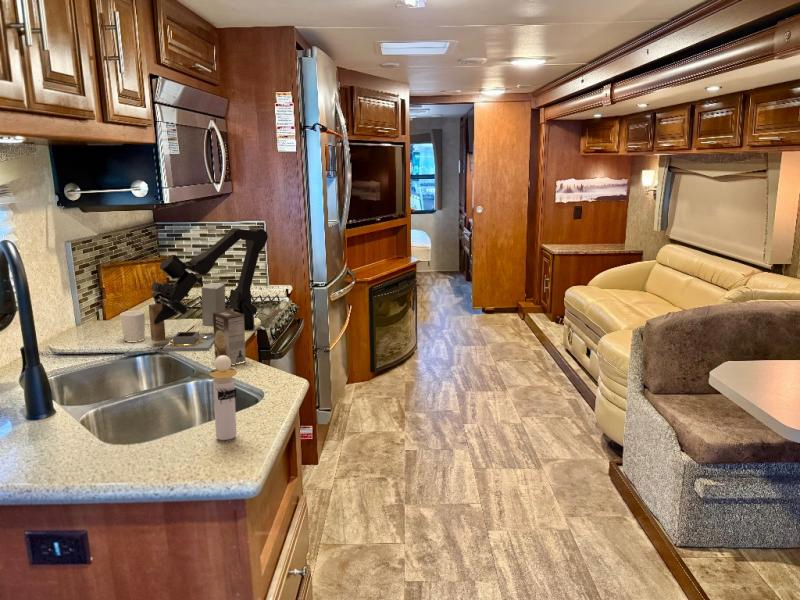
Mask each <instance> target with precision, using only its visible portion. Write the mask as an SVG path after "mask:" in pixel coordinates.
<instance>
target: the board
mask: <svg viewBox="0 0 800 600" xmlns="http://www.w3.org/2000/svg"><path fill="white" fill-rule="evenodd" d="M199 335H200V333H199ZM200 341H204V343H199V344H198V346H195V347H194V346H189V347H185V348H181V347H178V346H175V347H172V346H171V344H170V345H167V346H165V345H164V346H163V347H162V352H186V351H187V352H191V351H192V352H195V351H196V352H197V351H201V352H203V351H205V352H206V351H207V352H209V351H210V350H211V348H212V346H213V345H214V338H210V340H207V339H202V340H200Z"/></svg>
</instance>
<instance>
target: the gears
mask: <svg viewBox="0 0 800 600" xmlns="http://www.w3.org/2000/svg"><path fill="white" fill-rule="evenodd" d="M199 334H200V335H199ZM172 338H173V341H170V340H169V341H170V343H172V344H171V346H172V347H175V346H178V347H181V348H185V347H189V346H194V347H195V346H198V344H199V343H204V341H200V340H202V339H207V340H210V338H214V332H210V333H204V332H202V333H201V332H199V331H178V332H177V333H176V334H175V335H173V337H172Z"/></svg>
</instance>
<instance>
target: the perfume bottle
mask: <svg viewBox="0 0 800 600" xmlns="http://www.w3.org/2000/svg"><path fill="white" fill-rule="evenodd" d="M213 364H214V368H215V369H212V370H210V372H209V376H210V377H211V378H213V381H212V382H213V383H212V384H213V385H212V386H213V387H212V388H213V403H214V404H213V405H214V421H215V423H214V424H215V438H216V439H218V440H221V441H222V440H223V441H224V440H225V441H226V440H231V439H234V438H235V437H236V436H237V419H236V417H237V416H236V397H238V396H237V388H235V379H234V378H233V377H235V376H236V375H237V371H238V370H237V369H235V368H233V367H232V366H231V360H230V358H229V357H228V356H225V355H221V356H218V357H217V358H216V360H215V359H214V363H213Z"/></svg>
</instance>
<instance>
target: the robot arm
mask: <svg viewBox="0 0 800 600" xmlns="http://www.w3.org/2000/svg"><path fill="white" fill-rule="evenodd" d="M268 239H269V234H268V233H267V231H266V230H265V229H262V228H256V227H251V228H249V229H243V228H242V229H241V228H238V227H237V228H236V227H233V228H231V229H230V230H229V231H228V232H227V233H226V234H225V235H224V236H222V238H220V239H218V241H217V242H216V243H215V244H213V245H212V246H211V247H209V248H208V249H207V250H206V251H204V252H201V253H198V254H197V255H196V256H193V257H192V258H191V259H190V260H188V261H184V262H183V261H182V260H181V259H180V258H179V257H178V256H177V254H171V255H170V256H169V257H166V259H164V260H162V262H161V263H160V265H159V269H160V270H161V271H162V272H163V273H165V274H166V275H167V276H168V277H170V278H171V279H172V280H174V279H176V281H175V282H174V283H168V282H162V283H160V282H158V281H155V280H154V281H152V282H153V283H152V284H151V286H150V287H151V288H150V291H153V293H151V295H150V296H151V298H153V301H154V304H158V303H159V304H162V310H161V312H160V313H159V315H158V316H157V318H156V319H155V321H154V323H155V324H158V323H160V322H162V321H164V322H165V321H167V320H168V319H170V318H172V317H174V316H177V315H179V314H180V315H182V316H185V314H186V313H188V307H187V306H186V304H184V303H182V301H183V300H184V299H185V298H188V297H189V296H190V294H189V293H190V291H191V290H192V289H193V288H194V287H195V285H196V284H197V285H200V286H203V285H204V282H203V277H202V276H198V275H203V276H204V275H207V274H208V273H210V271H211V270H212V269H213V268H214V266H215V264H216V262H217V261H218V259H219V258H220V257H222V255H224V254H225V253H226V252H227V251H229V250H230V248H231V247H233V246H234V245H236V244H237V243H238V241H240V240H245V248H246V250H245V251H246V252H245V254H244V260H243V264H242V267H241V271H240V275H239V278H238V282H237V283H238V284H237V286H236V287H235V289H230V291H229V292H230V293H229V297H228V298H227V300H229V301H228V304H229V306H230V307H231V308H232V309H233V311H235V312H238V313H241V314H244V328H245V331H254V330H255V328H256V325H255V315H257V312H258V308H257V307H255V305H254V304H252V299H253V298H252V292H251V289H252V288H251V287H252V284H253V279H254V276H255V272H256V267H257V264H258V261H259V260H258V259H259V256H260V253H261V251H263V249H264V248H265V246H266V243H267V241H268ZM189 271H190V272H189ZM196 274H198V275H196ZM178 312H179V313H178Z"/></svg>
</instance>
